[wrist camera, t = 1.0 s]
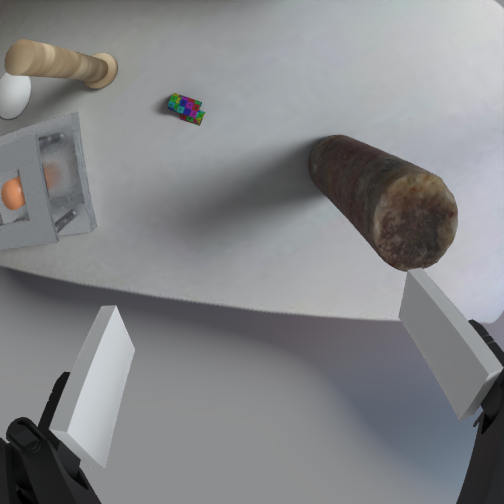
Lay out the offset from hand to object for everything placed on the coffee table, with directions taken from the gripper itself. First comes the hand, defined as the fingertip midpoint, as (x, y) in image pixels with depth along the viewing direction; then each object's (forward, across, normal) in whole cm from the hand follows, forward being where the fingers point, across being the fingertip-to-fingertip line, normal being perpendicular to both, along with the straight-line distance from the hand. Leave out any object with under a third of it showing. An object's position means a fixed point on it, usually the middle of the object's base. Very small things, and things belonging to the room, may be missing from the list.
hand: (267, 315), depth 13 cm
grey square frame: (+26, -27, +4) cm, 37 cm away
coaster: (+26, -29, +17) cm, 43 cm away
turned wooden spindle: (+26, -15, +16) cm, 34 cm away
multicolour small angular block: (+27, -6, +9) cm, 29 cm away
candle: (+26, +11, 0) cm, 28 cm away
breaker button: (+23, -27, +4) cm, 35 cm away
